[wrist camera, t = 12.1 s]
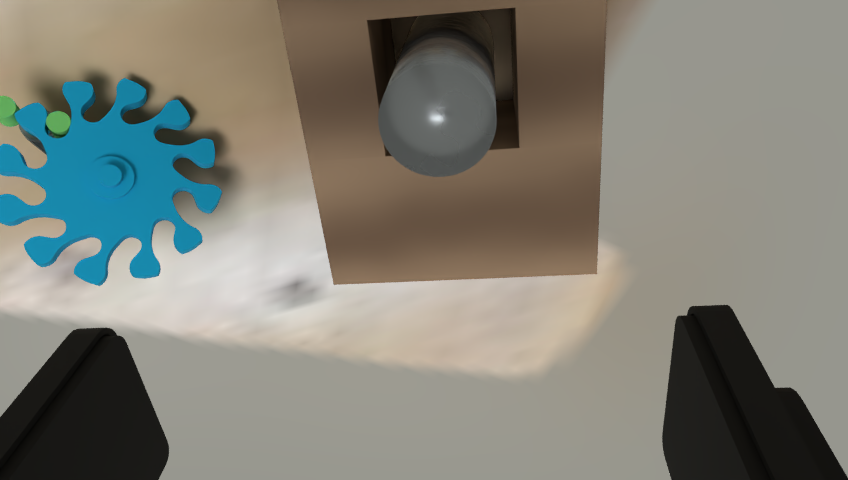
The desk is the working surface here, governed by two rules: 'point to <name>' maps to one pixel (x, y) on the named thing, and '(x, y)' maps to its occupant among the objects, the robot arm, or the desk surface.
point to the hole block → (467, 191)
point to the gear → (104, 177)
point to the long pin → (441, 96)
